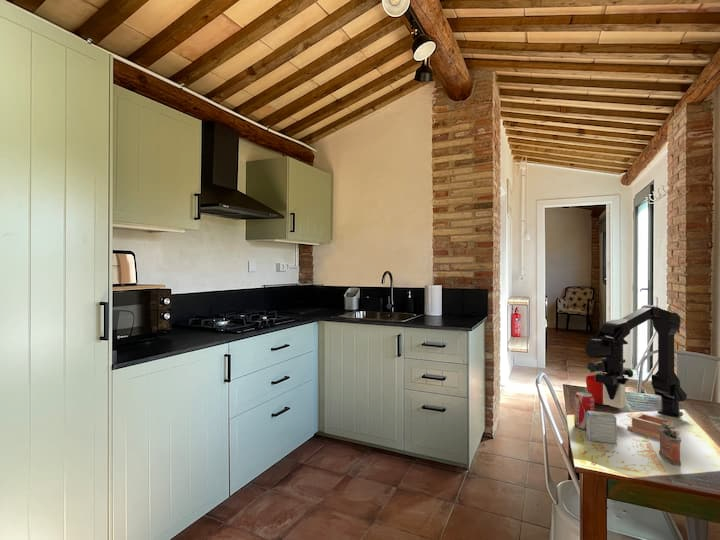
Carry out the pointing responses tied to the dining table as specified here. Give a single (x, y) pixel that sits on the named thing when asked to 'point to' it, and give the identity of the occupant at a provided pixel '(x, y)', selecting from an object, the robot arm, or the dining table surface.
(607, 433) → the medicine box
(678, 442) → the lighter
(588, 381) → the red bowl
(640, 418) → the dock
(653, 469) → the dining table surface
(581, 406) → the beverage can
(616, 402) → the plug
